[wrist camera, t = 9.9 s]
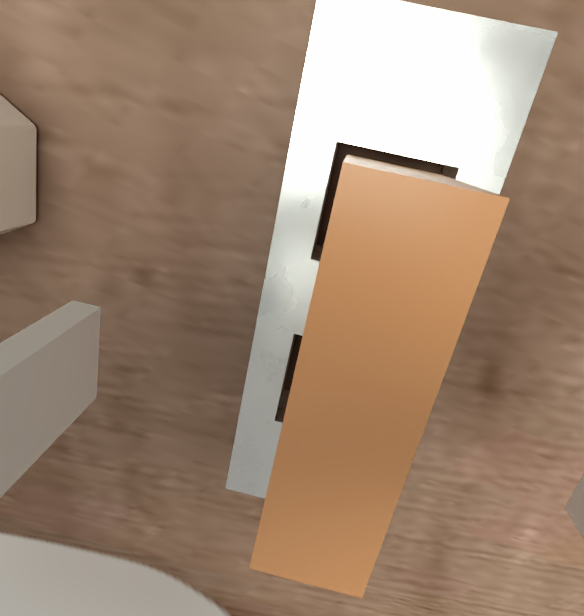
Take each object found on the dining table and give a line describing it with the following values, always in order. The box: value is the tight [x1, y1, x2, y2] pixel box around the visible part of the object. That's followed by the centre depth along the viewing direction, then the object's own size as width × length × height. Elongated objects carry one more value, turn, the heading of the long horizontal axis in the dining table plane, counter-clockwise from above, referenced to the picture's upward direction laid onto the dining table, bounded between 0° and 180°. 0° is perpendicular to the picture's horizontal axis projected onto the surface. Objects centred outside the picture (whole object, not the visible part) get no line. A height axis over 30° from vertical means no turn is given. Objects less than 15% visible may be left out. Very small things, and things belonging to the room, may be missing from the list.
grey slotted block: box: [225, 0, 558, 499], centre depth 20 cm, size 8×22×3 cm, turn 168°
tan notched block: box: [249, 154, 510, 598], centre depth 17 cm, size 4×12×11 cm, turn 168°
